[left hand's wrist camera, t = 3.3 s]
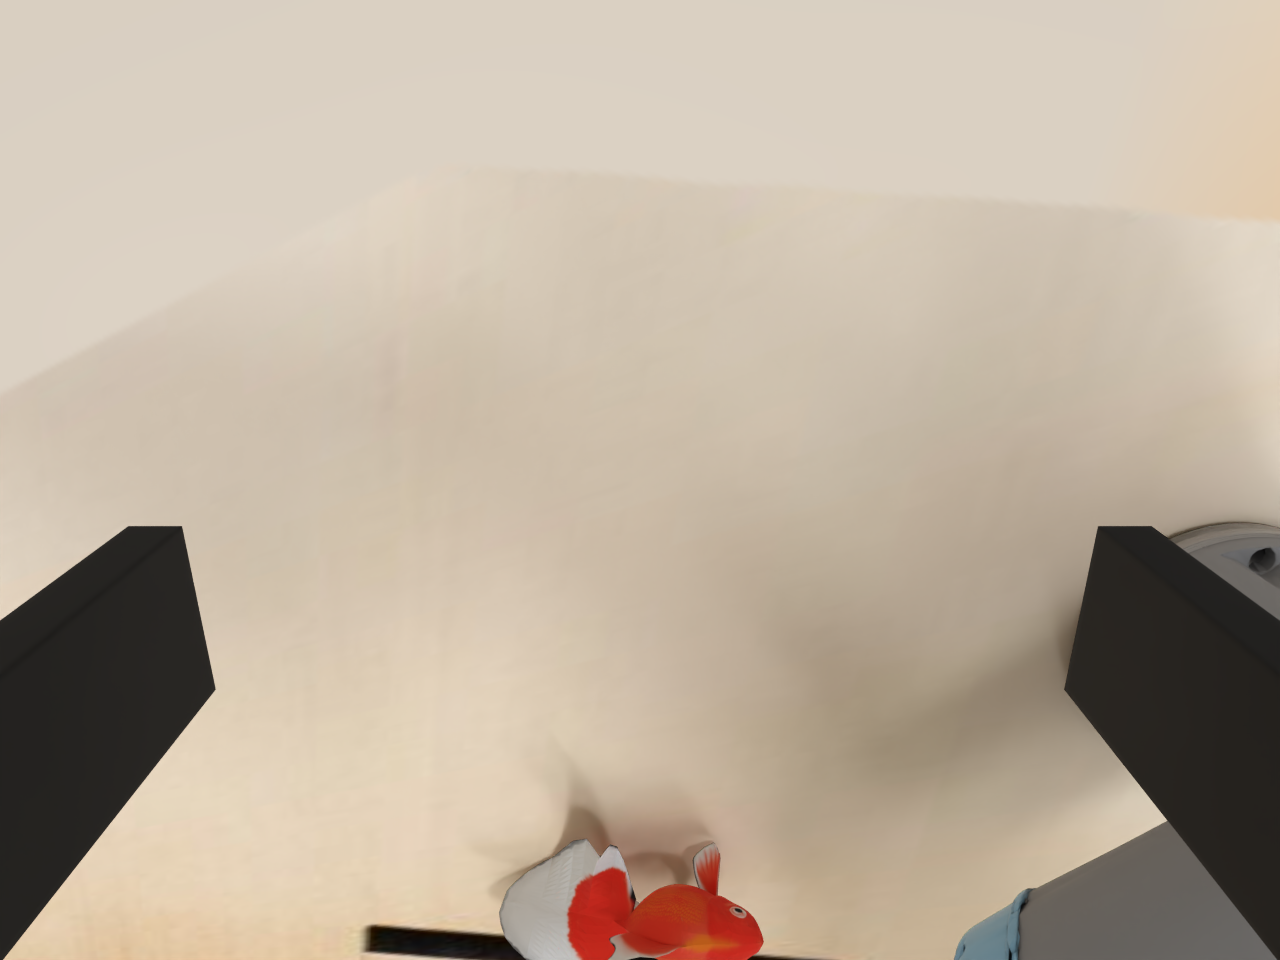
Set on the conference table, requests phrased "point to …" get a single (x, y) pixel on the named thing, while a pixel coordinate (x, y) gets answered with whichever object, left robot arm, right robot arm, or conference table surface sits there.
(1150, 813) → the conference table surface
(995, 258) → the conference table surface
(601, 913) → the fish
